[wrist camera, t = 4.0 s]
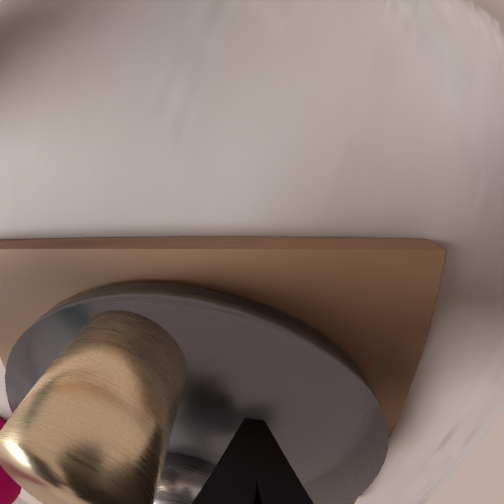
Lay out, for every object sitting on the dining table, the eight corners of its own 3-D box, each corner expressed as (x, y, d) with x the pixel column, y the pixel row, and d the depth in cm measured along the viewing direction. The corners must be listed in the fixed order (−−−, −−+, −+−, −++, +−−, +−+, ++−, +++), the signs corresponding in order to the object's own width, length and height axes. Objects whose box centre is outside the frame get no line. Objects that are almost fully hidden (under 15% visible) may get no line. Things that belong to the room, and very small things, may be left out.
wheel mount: (343, 499, 17) (347, 514, 16) (89, 482, 17) (83, 495, 16) (426, 238, 11) (446, 250, 10) (-14, 240, 11) (-33, 249, 10)
